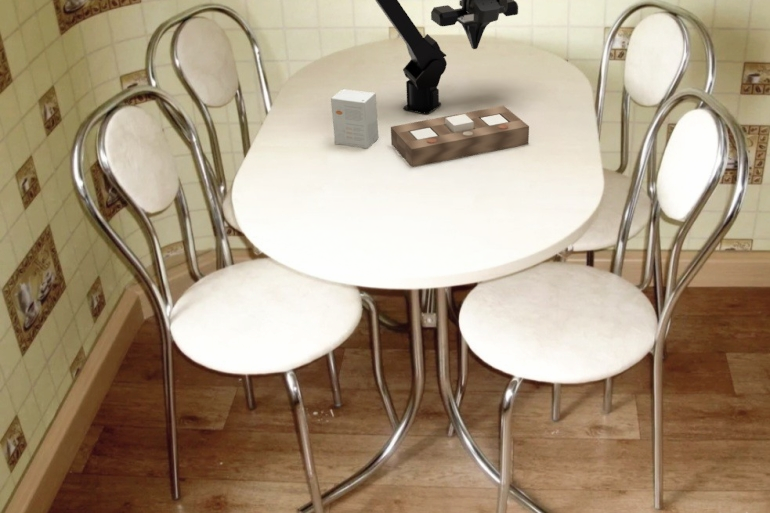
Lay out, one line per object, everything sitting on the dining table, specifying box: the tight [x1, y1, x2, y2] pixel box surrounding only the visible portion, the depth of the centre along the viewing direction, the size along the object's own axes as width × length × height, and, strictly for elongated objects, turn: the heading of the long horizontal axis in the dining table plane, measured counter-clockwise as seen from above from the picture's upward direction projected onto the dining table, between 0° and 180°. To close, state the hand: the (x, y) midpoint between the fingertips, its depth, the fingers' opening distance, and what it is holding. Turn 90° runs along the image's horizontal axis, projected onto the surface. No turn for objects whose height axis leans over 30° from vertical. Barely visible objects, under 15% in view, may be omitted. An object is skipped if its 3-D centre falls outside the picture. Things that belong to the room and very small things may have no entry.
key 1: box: [410, 128, 438, 140], centre depth 197 cm, size 4×4×3 cm
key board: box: [390, 105, 530, 168], centre depth 199 cm, size 26×12×4 cm, turn 110°
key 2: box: [480, 114, 508, 126], centre depth 201 cm, size 4×4×3 cm
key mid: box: [445, 114, 474, 133], centre depth 198 cm, size 4×4×3 cm
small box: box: [330, 88, 380, 149], centre depth 201 cm, size 8×6×10 cm
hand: (474, 48), depth 215 cm, fingers closed
